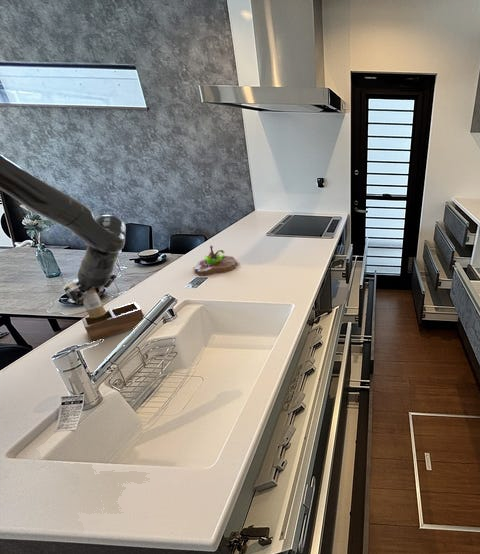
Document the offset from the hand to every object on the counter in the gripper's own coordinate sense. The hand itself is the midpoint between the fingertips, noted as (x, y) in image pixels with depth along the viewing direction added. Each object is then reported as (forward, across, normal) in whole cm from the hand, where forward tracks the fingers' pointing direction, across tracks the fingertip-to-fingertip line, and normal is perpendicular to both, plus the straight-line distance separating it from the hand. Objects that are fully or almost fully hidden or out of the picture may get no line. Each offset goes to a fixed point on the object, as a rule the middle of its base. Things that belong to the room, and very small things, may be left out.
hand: (86, 298), depth 100 cm
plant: (+13, -59, +6) cm, 61 cm away
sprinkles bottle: (+3, 0, +6) cm, 7 cm away
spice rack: (+7, -3, +12) cm, 14 cm away
